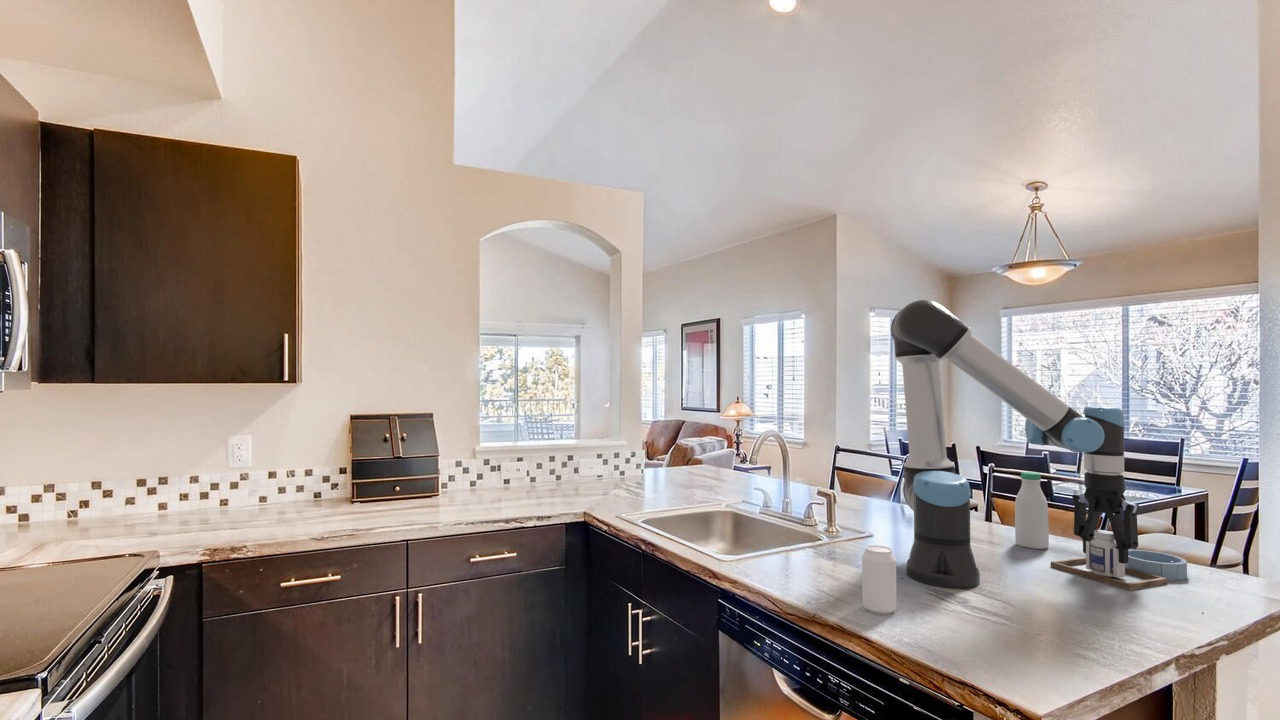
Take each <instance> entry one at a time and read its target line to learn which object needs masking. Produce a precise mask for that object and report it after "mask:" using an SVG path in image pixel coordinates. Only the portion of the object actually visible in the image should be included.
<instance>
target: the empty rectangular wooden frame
mask: <svg viewBox="0 0 1280 720" xmlns="http://www.w3.org/2000/svg"><path fill="white" fill-rule="evenodd" d="M1084 564H1085V565H1086V556H1084V557H1077V558H1069V559H1063V560H1060V559H1059V560H1054V561H1050V567H1051V568H1052V569H1053V568H1054V569H1057V570H1061V571H1063V572H1064V571H1065V572H1066V573H1071V574H1073V575H1077V576H1080V577H1083V578H1088V579H1091V580H1094V581H1097V582H1101V583H1105V584H1107V585H1112V586H1114V587H1118V588H1121V589H1124V590H1127V591H1132V590H1138V589H1145V588H1151V587H1156V586H1157V587H1158V586H1163V585H1164V586H1165V585H1168V580H1167V578H1164V577H1160V576H1156V575H1152V574H1149V573H1145V572H1141V571H1137V570H1134V569H1130V568H1126V567H1125V575H1131V576H1133V577H1137V578H1141V579H1144V580H1139V581H1133V582H1125V581H1121V580H1118V579H1115V578H1112V577H1109V576H1102V575H1098V574H1095V573H1093V572H1092V571H1091V572H1090V571H1087V570H1084V569H1080V568H1077V567H1073V566H1076V565H1084Z"/></svg>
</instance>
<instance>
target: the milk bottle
mask: <svg viewBox="0 0 1280 720" xmlns="http://www.w3.org/2000/svg"><path fill="white" fill-rule="evenodd" d="M1041 477H1042V475H1041V473H1039V472H1033V471H1022V472H1020V478H1021V479H1020V480H1021V486H1020V489H1019V491H1018V492H1017V494H1016V497H1015V502H1014V530H1015V531H1014V535H1015V538H1014V539H1015V544H1016V545H1017V546H1019V547H1023V548H1027V549H1031V550H1032V549H1033V550H1047V549H1048V548H1049V544H1050V541H1049V539H1050V534H1049V532H1050V531H1049V506H1048V501H1047V498H1046V496H1045V494H1044V492H1043V491H1042V488H1041V480H1042V478H1041Z"/></svg>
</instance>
